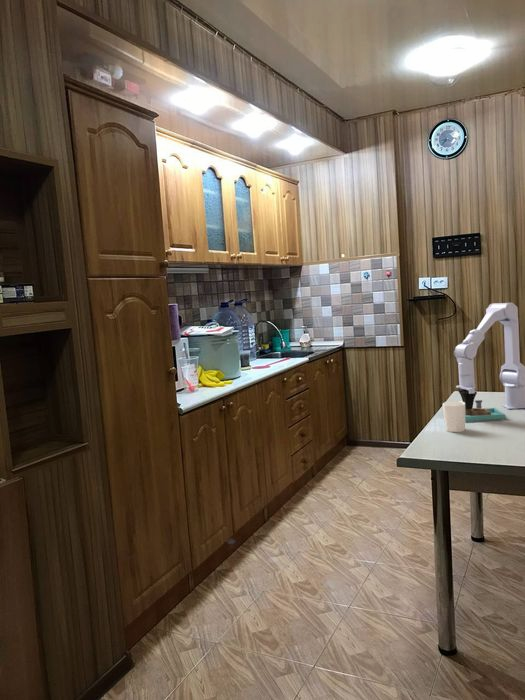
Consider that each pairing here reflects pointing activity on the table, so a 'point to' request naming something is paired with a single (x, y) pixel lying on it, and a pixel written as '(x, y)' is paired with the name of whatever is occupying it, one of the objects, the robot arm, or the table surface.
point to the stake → (478, 403)
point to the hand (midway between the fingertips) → (468, 408)
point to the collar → (476, 411)
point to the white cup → (454, 416)
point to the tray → (487, 416)
